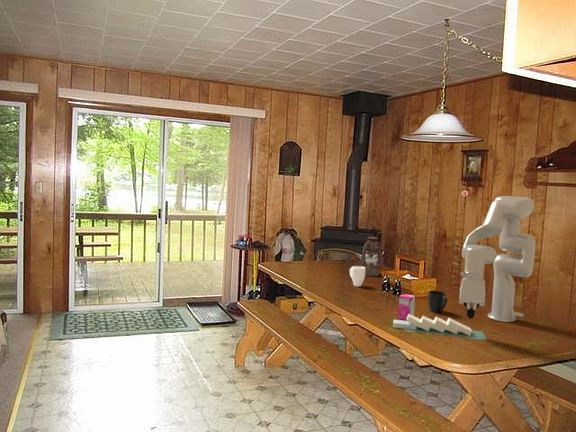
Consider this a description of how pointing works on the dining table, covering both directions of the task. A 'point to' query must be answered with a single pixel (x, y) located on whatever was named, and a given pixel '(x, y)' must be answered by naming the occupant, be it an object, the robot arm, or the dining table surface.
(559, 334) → the dining table surface
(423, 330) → the runner mat
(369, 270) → the lantern
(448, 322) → the domino
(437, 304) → the mug
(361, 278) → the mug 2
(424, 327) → the domino
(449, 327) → the domino
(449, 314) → the dining table surface
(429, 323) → the domino
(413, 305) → the supplement box
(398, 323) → the domino
